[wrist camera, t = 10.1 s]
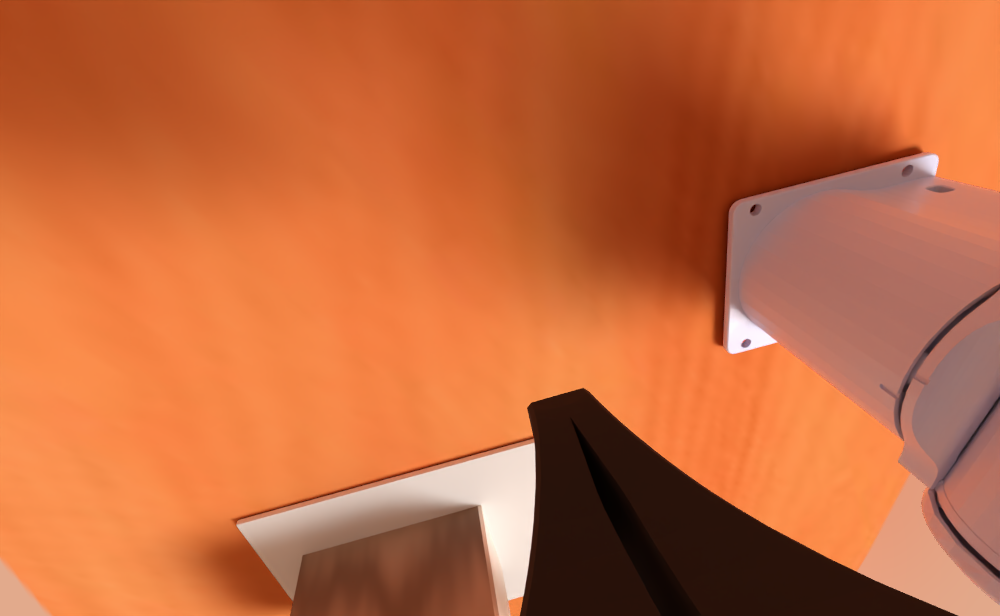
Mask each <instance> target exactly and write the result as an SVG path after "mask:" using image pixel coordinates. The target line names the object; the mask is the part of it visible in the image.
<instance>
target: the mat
mask: <svg viewBox="0 0 1000 616" xmlns="http://www.w3.org/2000/svg"><path fill="white" fill-rule="evenodd" d="M535 485H536V471H535V444H534V439H530V440H527V441H523V442H519V443H516V444H512V445H508V446H505V447H501V448H498V449H494V450H490V451H487V452H483V453H479V454H476V455H472V456H469V457H465V458H461V459H458V460H454V461H450V462H447V463H443V464H440V465H436V466H432V467H429V468H425V469H421V470H418V471H414V472H411V473H407V474H403V475H400V476H396V477H392V478H389V479H385V480H382V481H378V482H374V483H371V484H367V485H363V486H360V487H356V488H353V489H349V490H345V491H342V492H338V493H334V494H331V495H327V496H324V497H320V498H316V499H313V500H309V501H305V502H302V503H298V504H295V505H291V506H287V507H284V508H280V509H276V510H273V511H269V512H266V513H262V514H258V515H255V516H251V517H247V518H244V519H240V520H238V521H237V524H236V526H237V527H238V529H239V530H240V531H241V533H242V534H243V535H244V537H245V538H246V539H247V541H248V542H249V543H250V545H251V546H252V547H253V549H254V550H255V551H256V553H257V554H258V555H259V557H260V558H261V559H262V561H263V562H264V563H265V565H266V566H267V568H268V569H269V570H270V572H271V573H272V574H273V576H274V577H275V578H276V580H277V581H278V582H279V584H280V585H281V586H282V588H283V589H284V590H285V592H286V593H287V594H288V596H289V597H290V598H291V600H292V601H293V599H294V595H295V590H296V585H297V580H298V575H299V571H300V566H301V561H302V556H303V555H306V554H309V553H313V552H316V551H320V550H323V549H327V548H330V547H334V546H338V545H341V544H345V543H348V542H352V541H355V540H359V539H362V538H366V537H370V536H373V535H377V534H380V533H384V532H387V531H391V530H394V529H398V528H402V527H405V526H409V525H412V524H416V523H419V522H423V521H426V520H430V519H434V518H437V517H441V516H444V515H448V514H451V513H455V512H458V511H462V510H465V509H469V508H473V507H476V506H480V505H481V506H482V509H483V512H484V515H485V518H486V521H487V524H488V527H489V530H490V533H491V536H492V539H493V542H494V545H495V549H496V552H497V555H498V558H499V561H500V564H501V567H502V571H503V577H504V582H505V587H506V593H507V598H508V600H511V599H515V598H518V597H522V596H524V590H525V584H526V578H527V572H528V566H529V558H530V550H531V542H532V532H533V521H534V505H535Z"/></svg>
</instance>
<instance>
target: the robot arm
mask: <svg viewBox="0 0 1000 616" xmlns="http://www.w3.org/2000/svg"><path fill="white" fill-rule="evenodd" d="M938 160H939V158H938V156H937V155H936V154H934V153H929V152H924V153H920V154H916V155H912V156H908V157H904V158H900V159H896V160H892V161H889V162H885V163H881V164H877V165H873V166H869V167H865V168H861V169H857V170H853V171H849V172H845V173H841V174H838V175H834V176H830V177H826V178H822V179H818V180H814V181H810V182H806V183H802V184H798V185H794V186H790V187H786V188H783V189H779V190H775V191H771V192H767V193H763V194H759V195H755V196H751V197H747V198H743V199H740V200H738V201H736V202H735V203H734V204H732V206H731V208H730V211H729V223H728V245H727V268H726V291H725V314H724V336H723V347H724V349H725V350H726V351H727V352H729V353H731V354H736V353H739V352H743V351H747V350H750V349H754V348H758V347H761V346H765V345H769V344H772V343H776V342H778V343H779V344H780V345H782V346H783V347H784V348H786V349H787V350H788V351H789V352H791V353H792V354H793V355H794V356H796V357H797V358H798V359H800V360H801V361H802V362H803V363H805V364H806V365H807V366H808V367H810V368H811V369H812V370H814V371H815V372H816V373H817V374H819V375H820V376H821V377H822V378H824V379H825V380H826V381H828V382H829V383H830V384H831V385H833V386H834V387H835V388H836V389H838V390H839V391H840V392H842V393H843V394H844V395H845V396H847V397H848V398H849V399H850V400H852V401H853V402H854V403H856V404H857V405H858V406H859V407H861V408H862V409H863V410H864V411H866V412H867V413H868V414H870V415H871V416H872V417H873V418H875V419H876V420H877V421H878V422H880V423H881V424H882V425H884V426H885V427H886V428H887V429H889V430H890V431H891V432H892V433H894V434H895V435H896V436H898V437H899V438H900V439H901V440H903V441H904V448H903V451H902V453H901V455H900V457H899V459H898V462H899V463H900V464H901V465H902V466H903V467H904V468H906V469H907V470H908V471H909V472H910V473H912V474H913V475H914V476H915V477H917V478H918V479H919V480H920V481H921V482H922V483H924V484H925V485H926V486H927V488H926V489H925V491H924V493H923V497H922V502H921V504H922V512H923V515H924V518H925V521H926V523H927V525H928V527H929V529H930V531H931V532H932V534H933V536H934V537H935V539H936V540H937V542H938V543H939V544H940V546H941V547H942V548H943V549H944V550H945V552H946V553H947V555H949V557H950V558H951V559H952V560H953V561H954V562H955V564H956V565H957V566H958V567H959V568H960V569H961V571H962V572H963V573H964V574H965V575H966V576H967V577H968V578H969V579H970V580H971V581H972V582H973V583H974V584H975V585H976V586H977V587H979V588H980V589H981V590H982V591H983V592H984V593H985V594H987V595H988V596H989V597H990V598H991V599H993V600H994V601H995V602H996V603H998V604H999V605H1000V192H999V191H995V190H990V189H986V188H982V187H978V186H974V185H969V184H965V183H961V182H957V181H953V180H948V179H944V178H940V177H936V176H935V174H936V170H937V166H938ZM904 168H905V169H904ZM903 169H904V171H903ZM902 171H903V172H902ZM755 204H756V207H755V209H754V211H753V212H751V213H750V209H751V207H752V206H753V205H755ZM745 339H746V340H745ZM744 340H745V341H744ZM743 341H744V342H743ZM742 342H743V343H742ZM527 409H528V413H529V418H530V422H531V427H532V431H533V436H534V444H535V471H536V485H535V505H534V521H533V532H532V542H531V550H530V558H529V566H528V572H527V578H526V584H525V590H524V596H523V602H522V608H521V613H520V616H957V615H955V614H953V613H950V612H948V611H946V610H943V609H941V608H938V607H936V606H934V605H931V604H929V603H926V602H924V601H922V600H919V599H917V598H915V597H912V596H910V595H907V594H905V593H903V592H900V591H898V590H896V589H893V588H891V587H888V586H886V585H884V584H881V583H879V582H877V581H875V580H873V579H871V578H868V577H866V576H864V575H862V574H860V573H858V572H856V571H854V570H852V569H850V568H848V567H846V566H843V565H841V564H839V563H837V562H835V561H833V560H831V559H829V558H827V557H825V556H823V555H821V554H819V553H817V552H816V551H814V550H812V549H810V548H808V547H806V546H804V545H802V544H800V543H799V542H797V541H795V540H793V539H791V538H789V537H787V536H785V535H783V534H782V533H780V532H778V531H776V530H774V529H772V528H770V527H768V526H767V525H765V524H763V523H761V522H760V521H758V520H756V519H755V518H753V517H751V516H750V515H748V514H746V513H745V512H743V511H741V510H740V509H738V508H736V507H735V506H733V505H731V504H730V503H728V502H727V501H725V500H724V499H722V498H720V497H719V496H717V495H716V494H714V493H713V492H711V491H710V490H708V489H707V488H705V487H704V486H702V485H701V484H699V483H698V482H696V481H695V480H694V479H692V478H691V477H689V476H688V475H686V474H685V473H684V472H682V471H681V470H680V469H678V468H677V467H676V466H674V465H673V464H671V463H670V462H669V461H667V460H666V459H665V458H664V457H662V456H661V455H660V454H658V453H657V452H656V451H655V450H653V449H652V448H651V447H650V446H648V445H647V444H646V443H645V442H644V441H642V440H641V439H640V438H639V437H637V436H636V435H635V434H634V433H633V432H631V431H630V430H629V429H628V428H627V427H626V426H624V425H623V424H622V423H621V422H620V421H619V420H618V419H617V418H616V417H614V416H613V415H612V414H611V413H610V412H609V411H608V410H607V409H606V408H605V407H604V406H603V405H602V404H601V403H600V402H599V401H598V400H597V399H596V398H595V397H594V396H593V395H592V394H591V393H590V392H589V391H587V390H586V389H584V388H582V389H578V390H575V391H571V392H568V393H564V394H560V395H557V396H553V397H550V398H546V399H543V400H539V401H536V402H532V403H531V404H530V405H529V406H528V408H527Z"/></svg>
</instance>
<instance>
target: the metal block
mask: <svg viewBox="0 0 1000 616" xmlns="http://www.w3.org/2000/svg"><path fill="white" fill-rule="evenodd" d="M290 616H511V615H510V609H509V604H508V598H507V593H506V587H505V582H504V577H503V571H502V567H501V564H500V561H499V558H498V555H497V552H496V549H495V545H494V542H493V539H492V536H491V533H490V530H489V527H488V524H487V521H486V518H485V515H484V512H483V509H482V506H481V505H480V506H476V507H473V508H469V509H465V510H462V511H458V512H455V513H451V514H448V515H444V516H441V517H437V518H434V519H430V520H426V521H423V522H419V523H416V524H412V525H409V526H405V527H402V528H398V529H394V530H391V531H387V532H384V533H380V534H377V535H373V536H370V537H366V538H362V539H359V540H355V541H352V542H348V543H345V544H341V545H338V546H334V547H330V548H327V549H323V550H320V551H316V552H313V553H309V554H306V555H303V556H302V561H301V566H300V571H299V575H298V580H297V585H296V590H295V595H294V599H293V604H292V609H291V614H290Z"/></svg>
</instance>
